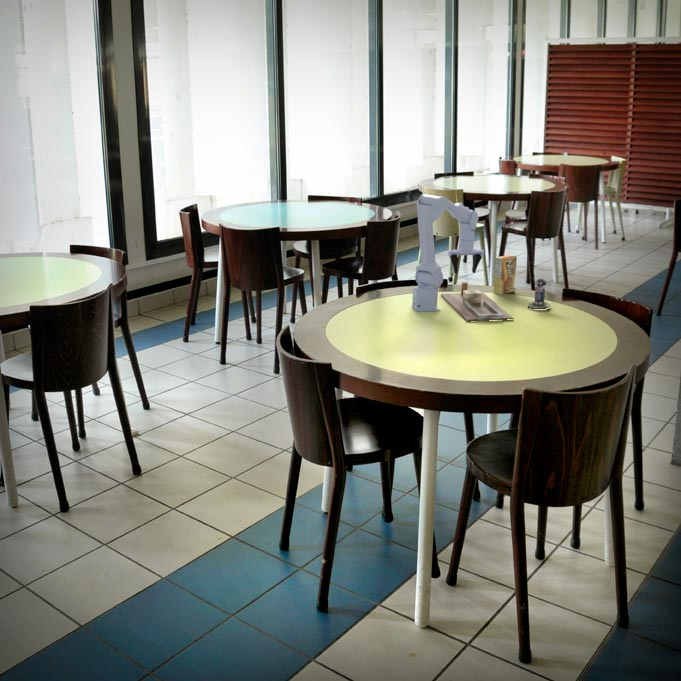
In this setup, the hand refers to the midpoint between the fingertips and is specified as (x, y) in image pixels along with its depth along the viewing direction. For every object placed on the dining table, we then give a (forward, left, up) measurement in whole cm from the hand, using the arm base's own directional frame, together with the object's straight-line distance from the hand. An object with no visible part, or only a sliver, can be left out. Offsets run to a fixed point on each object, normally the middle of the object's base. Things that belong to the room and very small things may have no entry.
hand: (464, 272), depth 342 cm
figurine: (+25, -18, -11) cm, 33 cm away
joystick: (0, -6, -9) cm, 11 cm away
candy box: (+19, +6, -10) cm, 23 cm away
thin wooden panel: (0, -16, -10) cm, 19 cm away
